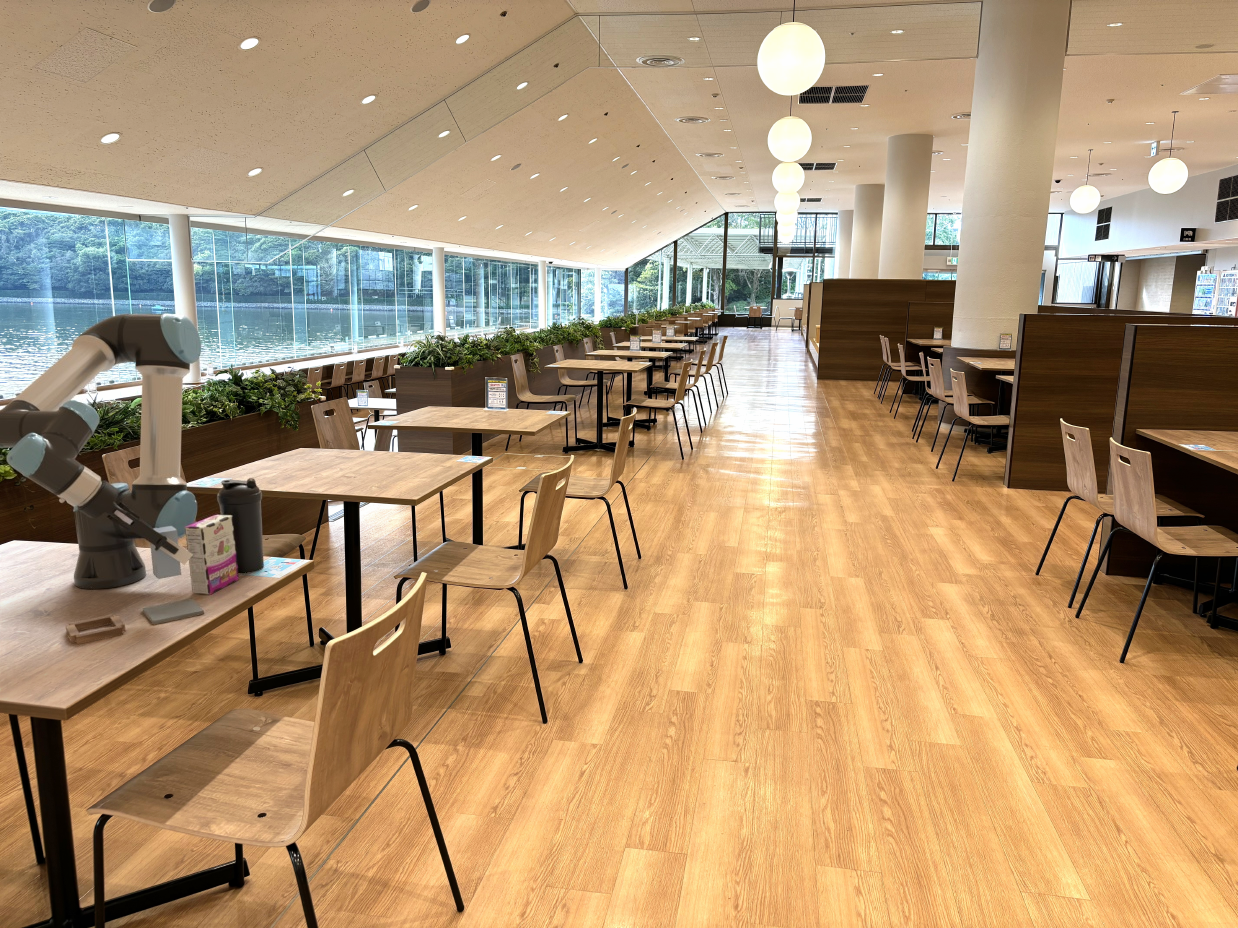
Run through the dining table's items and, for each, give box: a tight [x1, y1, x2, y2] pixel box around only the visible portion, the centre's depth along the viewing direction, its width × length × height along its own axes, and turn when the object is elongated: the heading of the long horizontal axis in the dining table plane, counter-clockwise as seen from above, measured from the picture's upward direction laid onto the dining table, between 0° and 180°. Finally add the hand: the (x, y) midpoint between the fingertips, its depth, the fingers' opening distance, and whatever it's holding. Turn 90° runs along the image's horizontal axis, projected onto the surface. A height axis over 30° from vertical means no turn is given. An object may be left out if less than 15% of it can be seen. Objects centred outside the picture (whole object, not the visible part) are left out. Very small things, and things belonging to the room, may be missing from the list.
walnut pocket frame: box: [65, 614, 126, 645], centre depth 177 cm, size 10×10×2 cm
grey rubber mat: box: [141, 597, 205, 625], centre depth 188 cm, size 10×10×1 cm
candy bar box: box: [185, 514, 240, 595], centre depth 203 cm, size 11×5×16 cm, turn 168°
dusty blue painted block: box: [149, 526, 182, 580], centre depth 185 cm, size 4×4×10 cm
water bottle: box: [216, 477, 265, 575], centre depth 216 cm, size 10×10×23 cm
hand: (184, 556), depth 188 cm, fingers closed on dusty blue painted block, 4 cm apart
